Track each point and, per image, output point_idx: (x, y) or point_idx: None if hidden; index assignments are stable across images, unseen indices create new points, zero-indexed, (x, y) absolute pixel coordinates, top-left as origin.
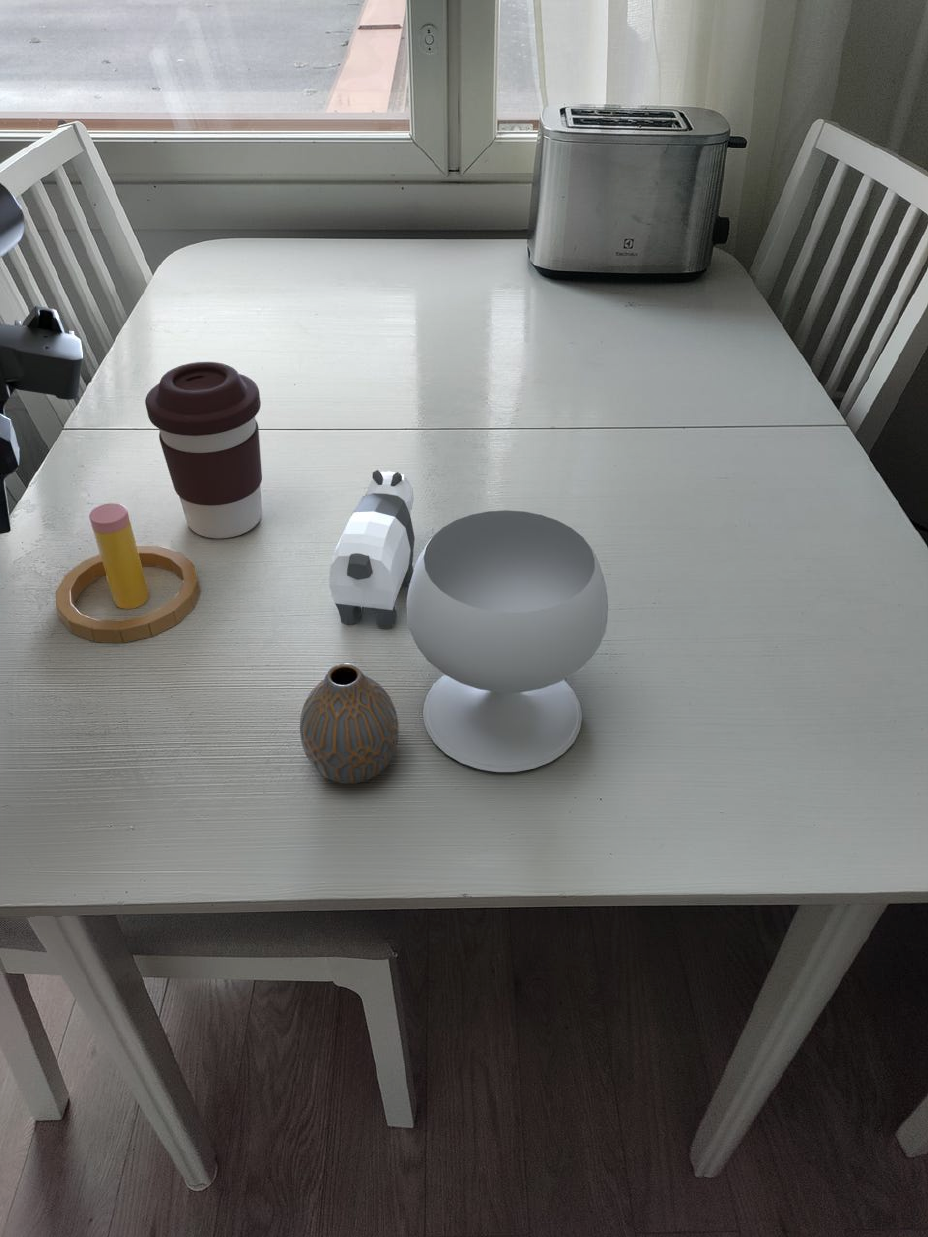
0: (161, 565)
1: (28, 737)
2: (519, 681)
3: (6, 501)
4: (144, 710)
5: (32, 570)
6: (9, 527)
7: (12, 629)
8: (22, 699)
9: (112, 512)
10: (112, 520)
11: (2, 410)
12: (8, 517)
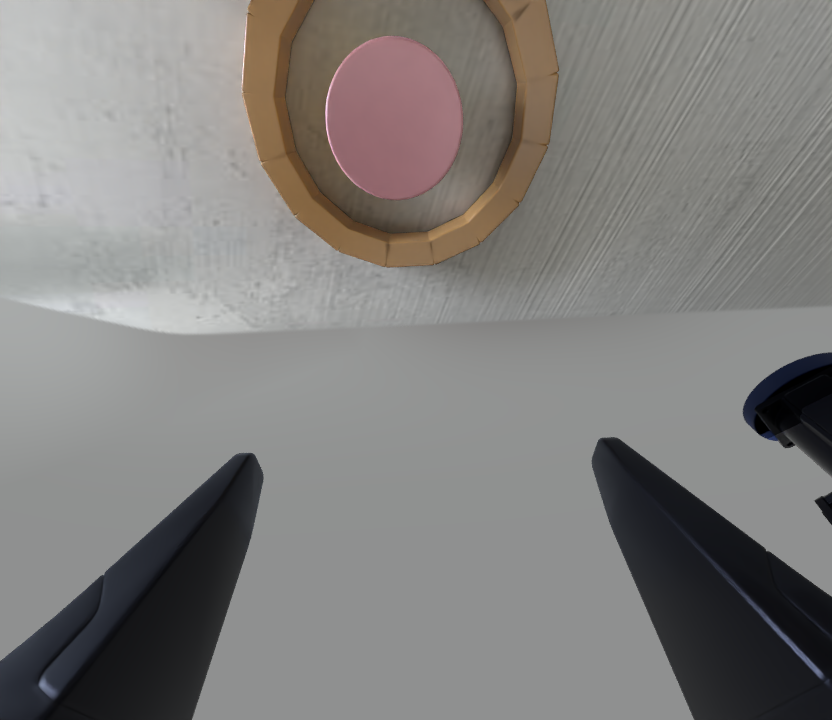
0: (298, 23)
1: (673, 293)
2: None
3: (756, 542)
4: (746, 107)
5: (280, 300)
6: (628, 447)
7: (428, 321)
8: (591, 303)
9: (396, 107)
10: (453, 109)
11: (61, 706)
12: (667, 477)
